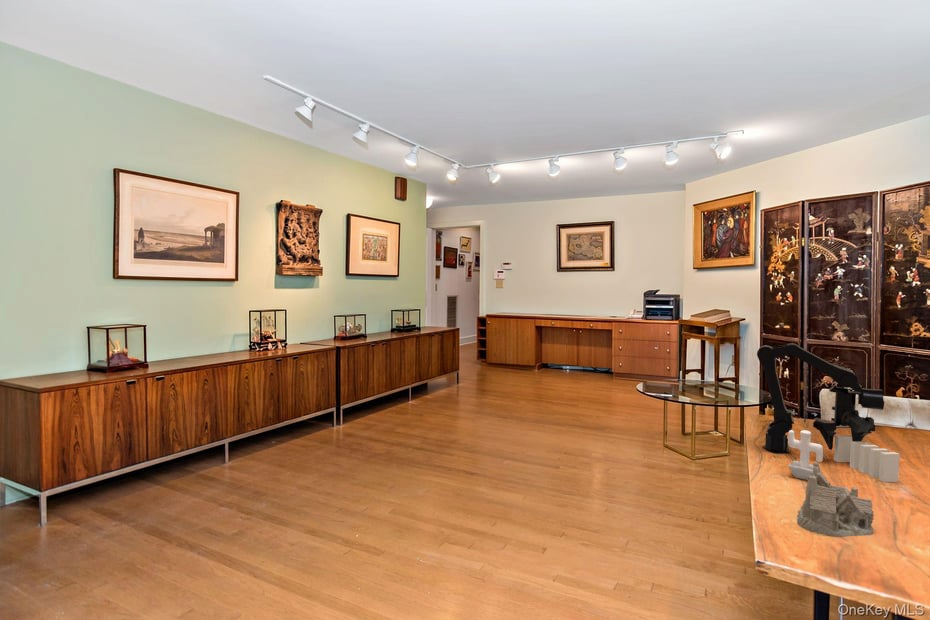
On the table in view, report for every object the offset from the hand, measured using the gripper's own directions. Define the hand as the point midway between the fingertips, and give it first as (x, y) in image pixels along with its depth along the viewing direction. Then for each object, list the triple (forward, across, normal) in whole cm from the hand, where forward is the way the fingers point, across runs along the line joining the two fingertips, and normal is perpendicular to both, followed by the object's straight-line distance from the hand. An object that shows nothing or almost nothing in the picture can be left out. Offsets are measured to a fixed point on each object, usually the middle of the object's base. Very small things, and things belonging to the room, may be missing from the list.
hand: (842, 449), depth 176 cm
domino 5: (+4, 0, -18) cm, 18 cm away
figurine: (+4, -25, -14) cm, 29 cm away
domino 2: (+4, 0, -7) cm, 8 cm away
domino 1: (+4, 0, 0) cm, 4 cm away
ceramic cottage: (+5, -42, -46) cm, 62 cm away
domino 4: (+4, 0, -14) cm, 15 cm away
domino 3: (+4, 0, -10) cm, 11 cm away
